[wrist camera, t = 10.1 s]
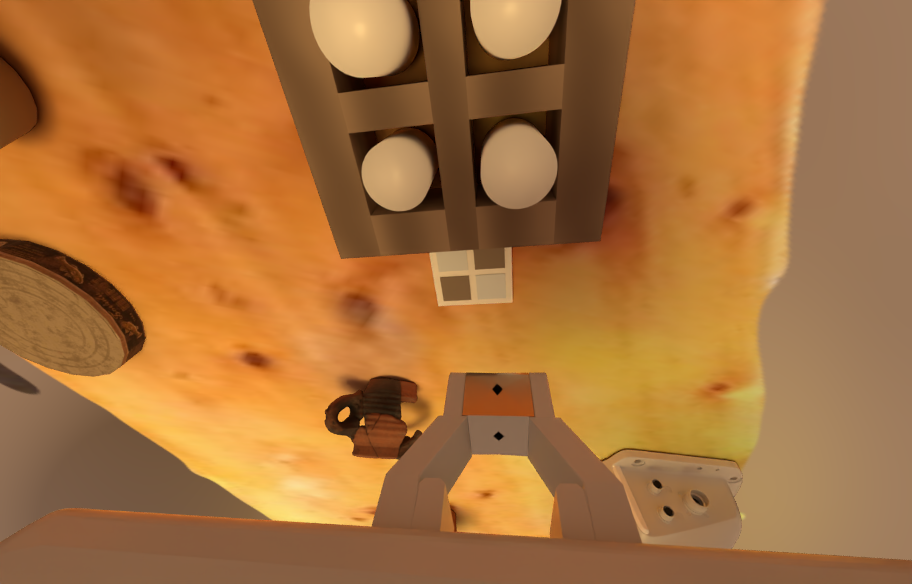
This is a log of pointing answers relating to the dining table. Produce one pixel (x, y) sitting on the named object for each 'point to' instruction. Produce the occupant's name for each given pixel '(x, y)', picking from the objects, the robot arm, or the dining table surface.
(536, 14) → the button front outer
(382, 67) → the beige egg
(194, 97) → the dining table surface
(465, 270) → the tile
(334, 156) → the button board
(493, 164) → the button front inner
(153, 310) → the dining table surface
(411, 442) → the pottery mug
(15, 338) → the brown wooden disc
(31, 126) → the squeeze bottle
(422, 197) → the egg
